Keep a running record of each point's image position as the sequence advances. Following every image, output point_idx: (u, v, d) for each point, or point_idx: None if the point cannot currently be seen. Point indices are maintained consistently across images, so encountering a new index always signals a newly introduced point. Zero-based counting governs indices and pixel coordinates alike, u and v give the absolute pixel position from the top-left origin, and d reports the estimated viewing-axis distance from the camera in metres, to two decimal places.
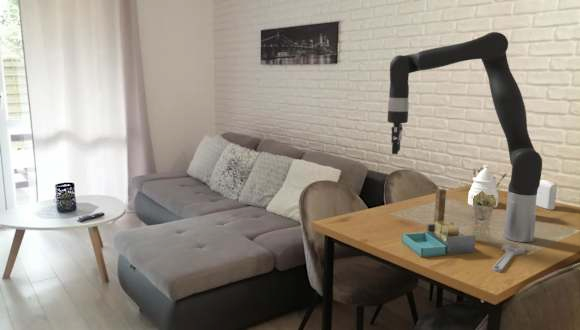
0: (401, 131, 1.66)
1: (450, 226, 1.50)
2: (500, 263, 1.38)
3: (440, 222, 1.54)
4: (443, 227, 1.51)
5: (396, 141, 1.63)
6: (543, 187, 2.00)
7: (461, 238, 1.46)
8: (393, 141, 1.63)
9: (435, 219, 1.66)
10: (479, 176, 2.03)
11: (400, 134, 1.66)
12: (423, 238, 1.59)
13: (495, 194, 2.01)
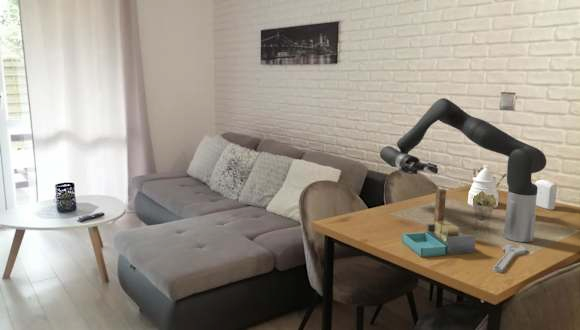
0: (411, 162, 1.80)
1: (450, 226, 1.50)
2: (500, 264, 1.38)
3: (440, 222, 1.54)
4: (443, 227, 1.51)
5: (404, 167, 1.76)
6: (543, 187, 2.00)
7: (461, 238, 1.46)
8: (404, 170, 1.77)
9: (435, 219, 1.66)
10: (479, 176, 2.03)
11: (410, 164, 1.79)
12: (423, 238, 1.59)
13: (495, 194, 2.01)
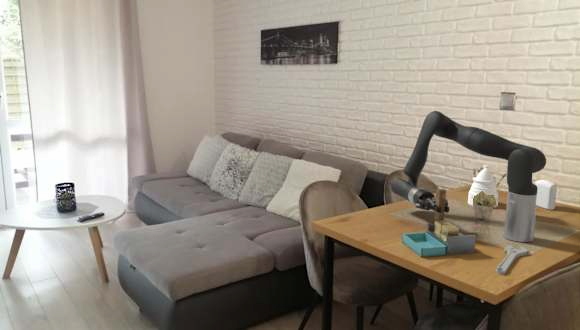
0: (427, 199, 1.70)
1: (450, 226, 1.50)
2: (503, 265, 1.36)
3: (440, 222, 1.54)
4: (443, 227, 1.51)
5: (426, 205, 1.66)
6: (543, 187, 2.00)
7: (461, 238, 1.46)
8: (427, 208, 1.66)
9: (435, 219, 1.66)
10: (479, 176, 2.03)
11: (428, 200, 1.68)
12: (423, 238, 1.59)
13: (495, 194, 2.01)
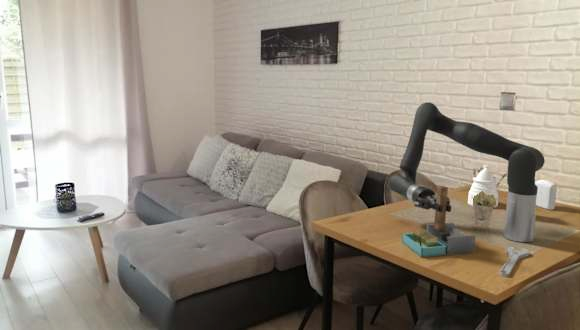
0: (427, 197, 1.56)
1: (423, 243, 1.49)
2: (506, 267, 1.35)
3: (416, 242, 1.54)
4: None
5: (426, 204, 1.52)
6: (543, 187, 2.00)
7: (461, 238, 1.46)
8: (426, 207, 1.52)
9: (436, 219, 1.52)
10: (479, 176, 2.03)
11: (428, 198, 1.54)
12: None
13: (495, 194, 2.01)
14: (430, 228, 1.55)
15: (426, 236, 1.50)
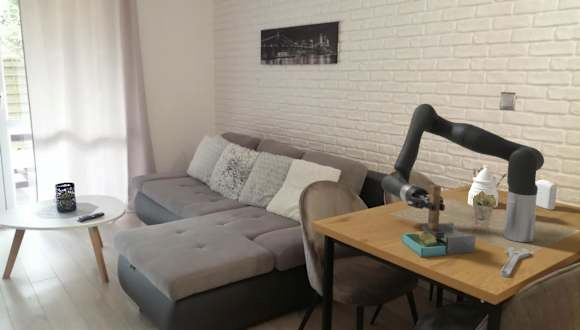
0: (420, 196, 1.55)
1: (422, 244, 1.49)
2: (506, 268, 1.35)
3: (416, 241, 1.54)
4: None
5: (419, 203, 1.51)
6: (543, 187, 2.00)
7: (461, 238, 1.46)
8: (420, 206, 1.51)
9: (429, 218, 1.51)
10: (479, 176, 2.03)
11: (421, 198, 1.54)
12: None
13: (495, 194, 2.01)
14: (424, 227, 1.54)
15: (425, 236, 1.49)
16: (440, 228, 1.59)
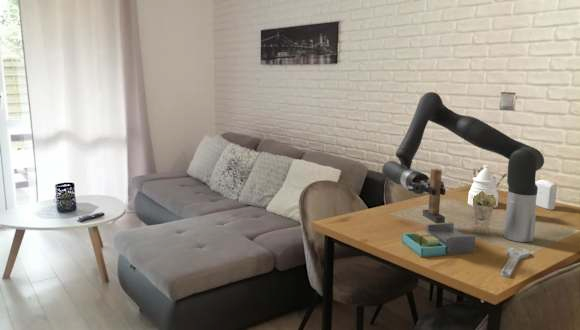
0: (421, 181, 1.54)
1: (424, 243, 1.49)
2: (507, 268, 1.34)
3: (416, 241, 1.54)
4: None
5: (420, 187, 1.50)
6: (543, 187, 2.00)
7: (461, 238, 1.46)
8: (420, 191, 1.49)
9: (430, 203, 1.49)
10: (479, 176, 2.03)
11: (422, 182, 1.52)
12: None
13: (495, 194, 2.01)
14: (424, 213, 1.53)
15: (428, 237, 1.50)
16: (440, 228, 1.59)
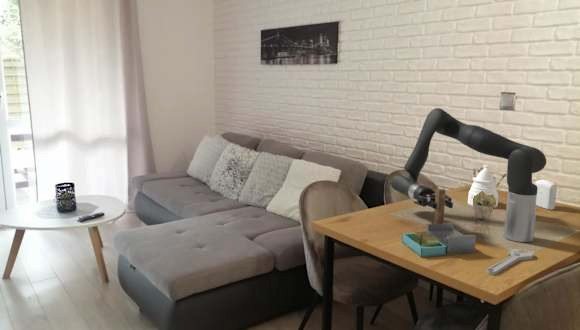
0: (427, 195, 1.70)
1: (424, 243, 1.49)
2: (497, 266, 1.36)
3: (416, 241, 1.54)
4: None
5: (422, 201, 1.66)
6: (543, 187, 2.00)
7: (461, 238, 1.46)
8: (422, 204, 1.66)
9: (435, 219, 1.66)
10: (479, 176, 2.03)
11: (426, 196, 1.68)
12: None
13: (495, 194, 2.01)
14: None
15: (428, 237, 1.50)
16: (440, 228, 1.59)
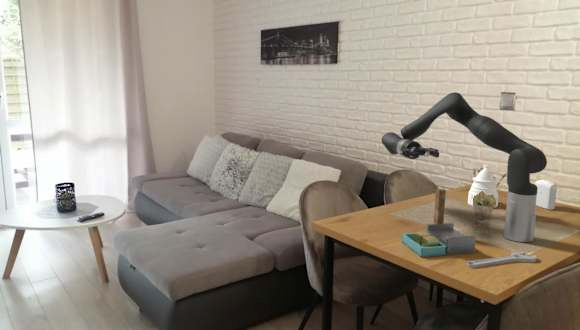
0: (412, 147, 1.79)
1: (424, 243, 1.49)
2: (481, 262, 1.39)
3: (416, 241, 1.54)
4: None
5: (405, 152, 1.75)
6: (543, 187, 2.00)
7: (461, 238, 1.46)
8: (405, 154, 1.75)
9: (435, 219, 1.66)
10: (479, 176, 2.03)
11: None
12: None
13: (495, 194, 2.01)
14: None
15: (428, 237, 1.50)
16: (440, 228, 1.59)
